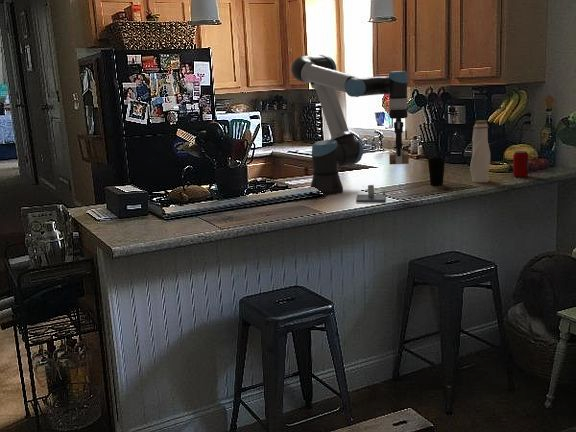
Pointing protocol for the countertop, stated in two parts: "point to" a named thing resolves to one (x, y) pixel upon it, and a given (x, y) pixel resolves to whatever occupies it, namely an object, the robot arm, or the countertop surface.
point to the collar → (404, 158)
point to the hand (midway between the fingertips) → (398, 162)
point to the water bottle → (480, 152)
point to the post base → (375, 199)
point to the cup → (436, 171)
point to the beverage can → (520, 163)
